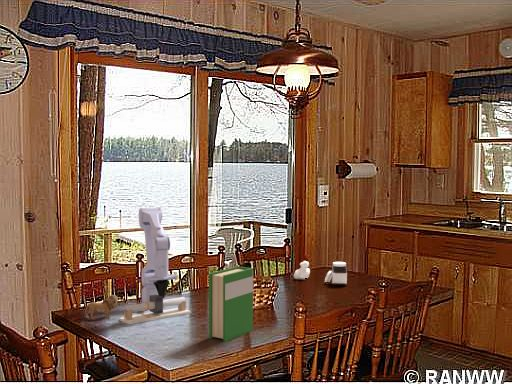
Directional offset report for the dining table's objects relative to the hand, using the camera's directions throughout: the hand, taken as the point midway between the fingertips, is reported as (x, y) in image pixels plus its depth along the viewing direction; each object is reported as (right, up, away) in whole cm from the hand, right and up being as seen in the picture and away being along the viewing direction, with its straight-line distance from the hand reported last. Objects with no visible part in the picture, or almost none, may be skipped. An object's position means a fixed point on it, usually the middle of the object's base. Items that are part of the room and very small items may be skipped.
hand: (161, 298), depth 253 cm
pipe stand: (-2, -8, -1) cm, 8 cm away
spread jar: (+81, -5, +67) cm, 105 cm away
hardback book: (+30, -9, -25) cm, 40 cm away
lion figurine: (-24, -8, -3) cm, 26 cm away
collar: (-2, -6, -1) cm, 6 cm away
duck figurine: (+65, -4, +81) cm, 104 cm away
